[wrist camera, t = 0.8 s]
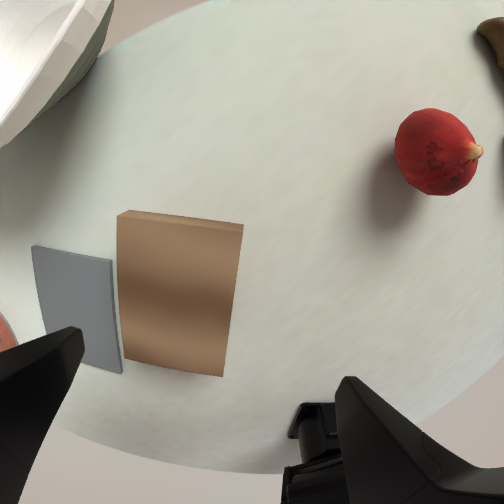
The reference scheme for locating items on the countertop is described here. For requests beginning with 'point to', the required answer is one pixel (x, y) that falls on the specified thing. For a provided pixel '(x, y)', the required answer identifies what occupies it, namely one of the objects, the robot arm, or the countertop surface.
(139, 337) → the cover
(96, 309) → the mat
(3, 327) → the canned food
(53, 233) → the countertop surface
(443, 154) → the onion
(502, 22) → the kendama
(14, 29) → the bowl
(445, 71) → the countertop surface
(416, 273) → the countertop surface
